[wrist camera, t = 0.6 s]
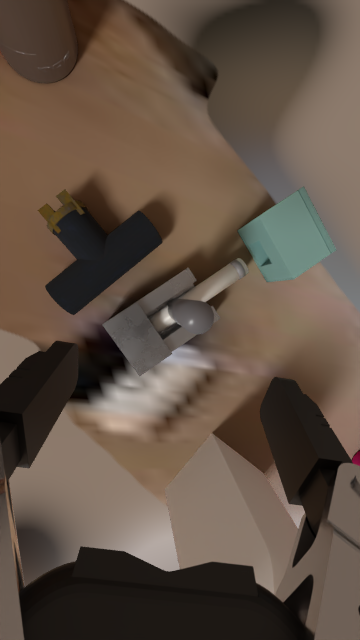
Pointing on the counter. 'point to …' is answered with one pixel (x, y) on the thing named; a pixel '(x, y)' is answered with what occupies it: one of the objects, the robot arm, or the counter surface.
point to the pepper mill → (356, 459)
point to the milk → (229, 515)
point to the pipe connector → (94, 251)
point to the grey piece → (198, 301)
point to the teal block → (287, 238)
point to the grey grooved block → (140, 334)
